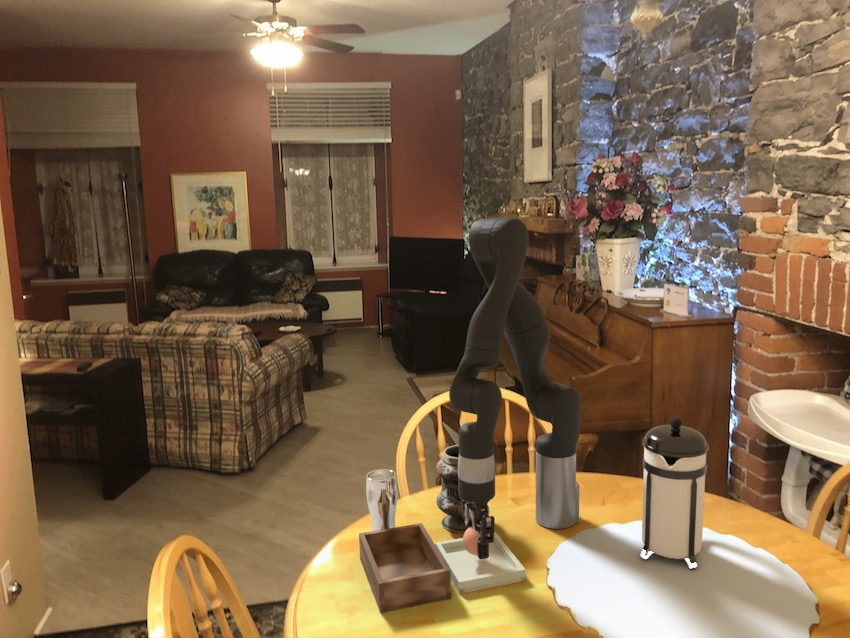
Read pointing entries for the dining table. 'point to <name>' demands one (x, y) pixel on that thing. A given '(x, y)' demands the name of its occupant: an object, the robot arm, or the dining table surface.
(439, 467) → the apothecary jar
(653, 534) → the coffee press
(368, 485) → the beer glass
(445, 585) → the crate
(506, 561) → the tray
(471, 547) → the ball
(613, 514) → the dining table surface
